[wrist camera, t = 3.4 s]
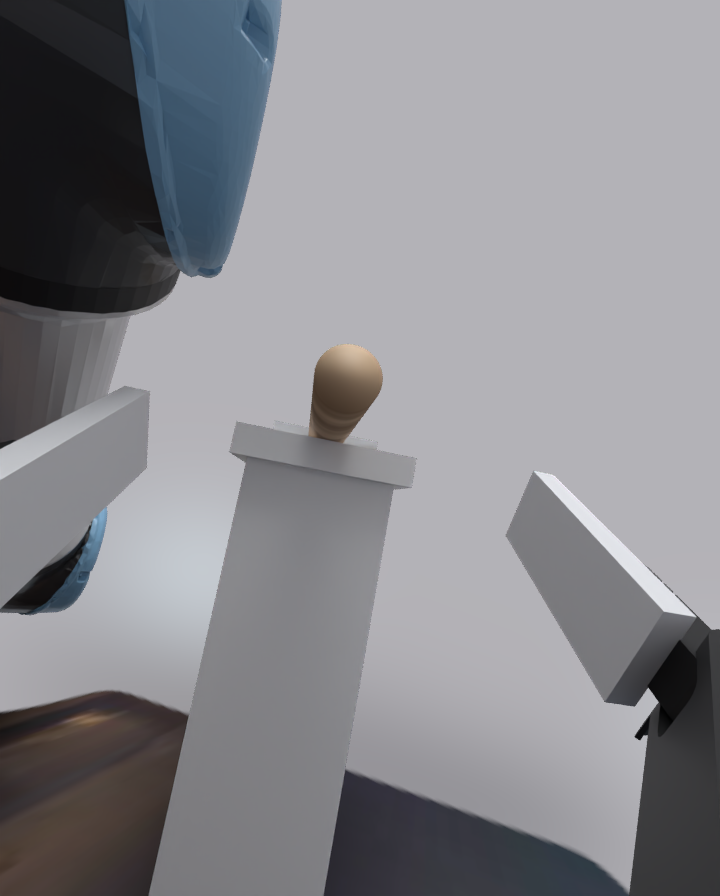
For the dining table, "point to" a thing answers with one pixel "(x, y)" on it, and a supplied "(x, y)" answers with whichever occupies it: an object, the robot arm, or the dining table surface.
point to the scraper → (341, 395)
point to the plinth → (279, 670)
